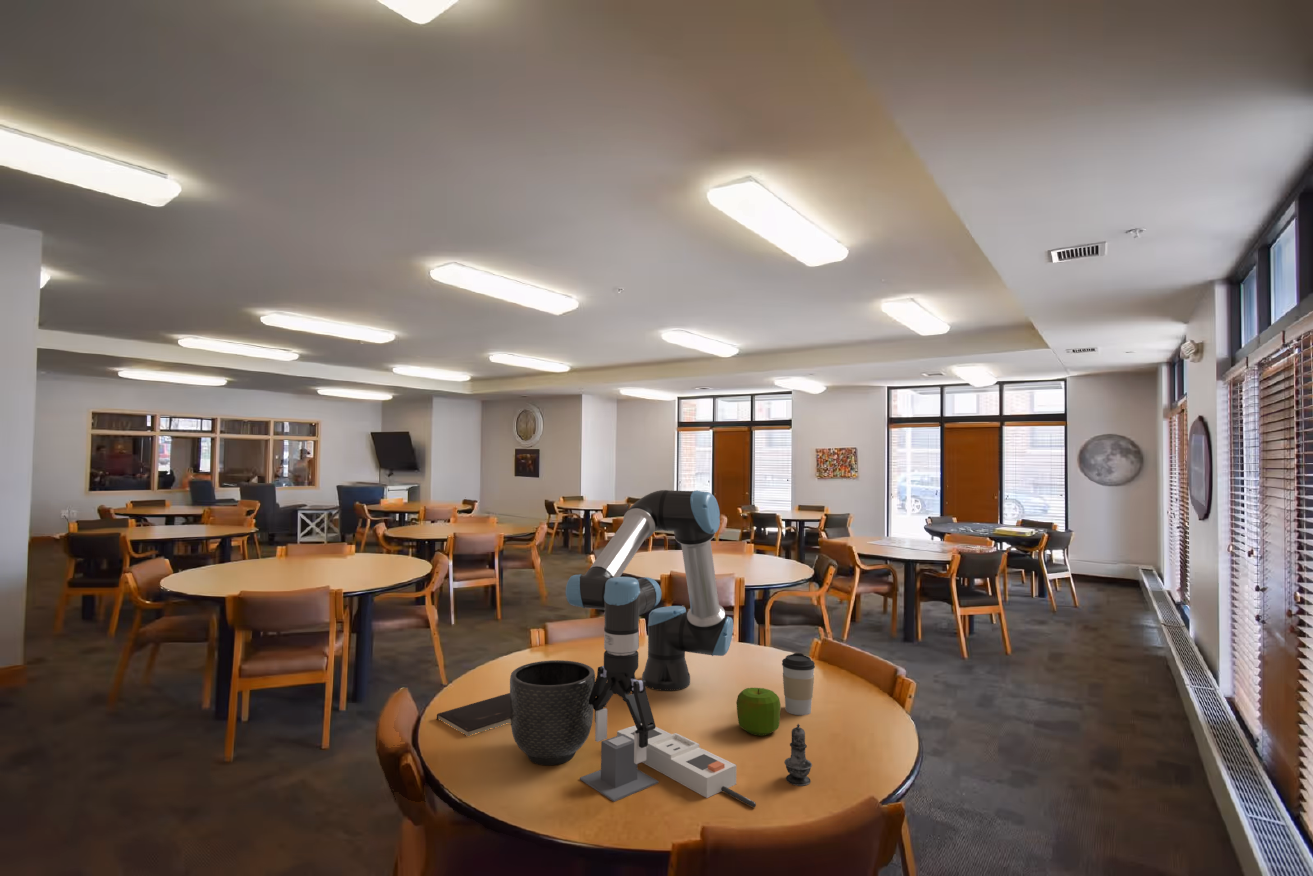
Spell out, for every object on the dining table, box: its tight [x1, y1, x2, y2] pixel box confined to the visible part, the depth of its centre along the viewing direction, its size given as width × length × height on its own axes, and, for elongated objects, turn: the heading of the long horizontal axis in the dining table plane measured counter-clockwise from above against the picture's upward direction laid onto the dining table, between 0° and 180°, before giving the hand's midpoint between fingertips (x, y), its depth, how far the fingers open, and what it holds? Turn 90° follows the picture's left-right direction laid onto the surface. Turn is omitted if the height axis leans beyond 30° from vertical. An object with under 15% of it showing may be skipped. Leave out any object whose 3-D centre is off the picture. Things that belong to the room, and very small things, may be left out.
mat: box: [579, 768, 659, 803], centre depth 137 cm, size 12×12×1 cm
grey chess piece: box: [784, 723, 813, 787], centre depth 139 cm, size 6×6×12 cm
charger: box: [600, 734, 638, 788], centre depth 137 cm, size 5×6×8 cm
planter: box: [509, 659, 596, 766], centre depth 149 cm, size 20×20×19 cm
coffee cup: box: [781, 652, 816, 716], centre depth 179 cm, size 9×9×15 cm
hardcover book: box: [436, 692, 511, 737], centre depth 172 cm, size 16×23×2 cm
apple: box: [735, 687, 782, 737], centre depth 165 cm, size 11×11×11 cm
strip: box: [616, 723, 757, 808], centre depth 142 cm, size 39×9×5 cm, turn 41°
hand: (619, 750), depth 138 cm, fingers open, 13 cm apart
